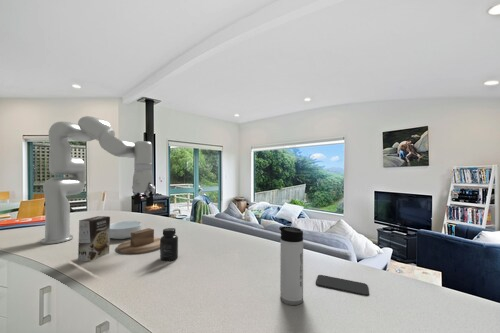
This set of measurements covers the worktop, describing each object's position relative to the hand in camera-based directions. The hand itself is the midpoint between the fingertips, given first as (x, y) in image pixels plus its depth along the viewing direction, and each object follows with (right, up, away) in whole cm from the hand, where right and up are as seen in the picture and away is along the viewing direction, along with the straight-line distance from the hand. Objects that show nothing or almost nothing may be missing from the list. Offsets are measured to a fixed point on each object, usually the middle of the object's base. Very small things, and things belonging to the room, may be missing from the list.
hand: (143, 205), depth 105 cm
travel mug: (+61, -19, -42) cm, 76 cm away
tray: (0, -20, 0) cm, 20 cm away
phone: (+78, -20, -34) cm, 87 cm away
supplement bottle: (+17, -20, -14) cm, 29 cm away
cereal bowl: (-17, -20, +14) cm, 30 cm away
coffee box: (-14, -20, -13) cm, 27 cm away
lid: (0, -19, 0) cm, 19 cm away
